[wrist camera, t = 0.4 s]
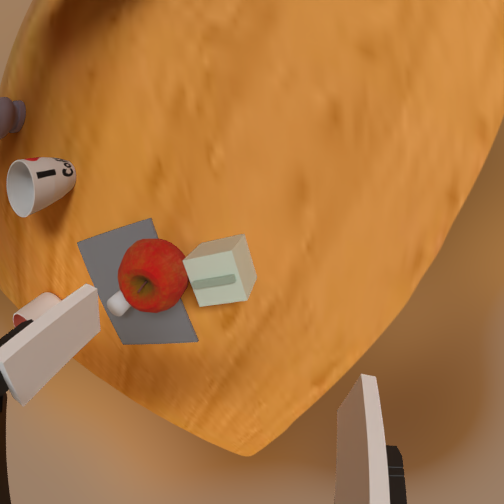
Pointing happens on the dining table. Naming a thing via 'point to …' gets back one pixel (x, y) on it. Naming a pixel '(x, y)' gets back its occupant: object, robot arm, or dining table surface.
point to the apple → (152, 275)
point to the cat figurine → (11, 116)
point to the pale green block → (221, 271)
